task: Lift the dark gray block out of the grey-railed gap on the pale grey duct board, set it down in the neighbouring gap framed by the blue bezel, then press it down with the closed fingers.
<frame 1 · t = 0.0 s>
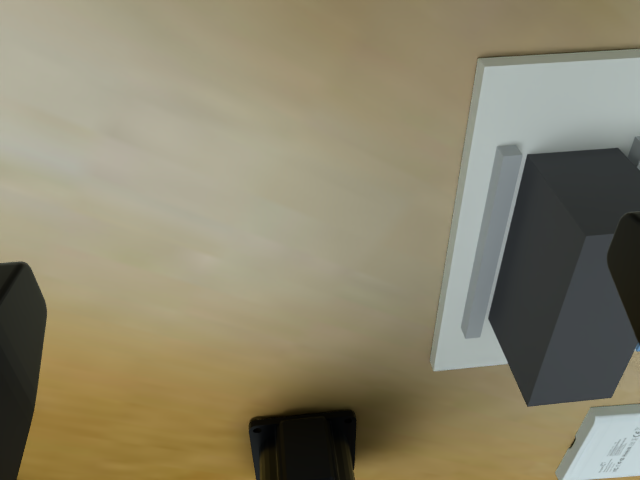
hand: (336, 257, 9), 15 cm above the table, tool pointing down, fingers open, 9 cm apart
dark gray block: (546, 242, 29), point 1 cm above the table, touching duct board
duct board: (627, 224, 30), on the table
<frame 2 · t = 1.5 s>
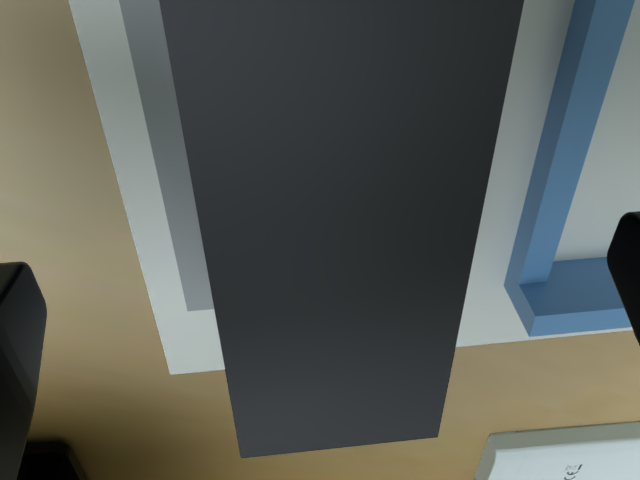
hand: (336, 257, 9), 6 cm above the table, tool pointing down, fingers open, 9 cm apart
dark gray block: (308, 96, 13), point 1 cm above the table, touching duct board
duct board: (495, 69, 14), on the table
external hard drive: (593, 458, 28), on the table
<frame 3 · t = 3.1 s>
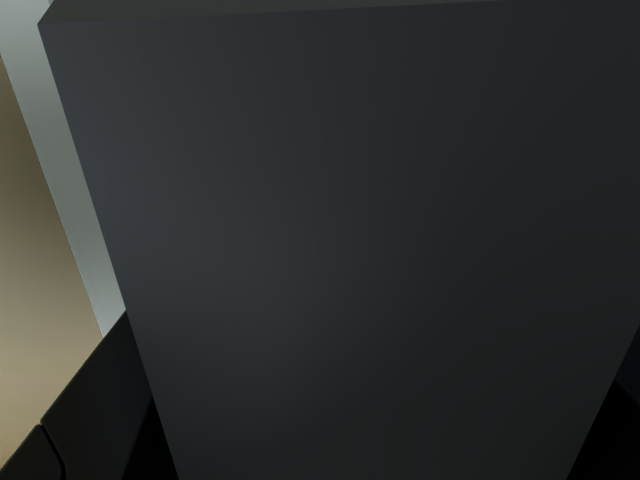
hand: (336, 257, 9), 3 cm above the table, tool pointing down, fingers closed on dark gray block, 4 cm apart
dark gray block: (323, 193, 10), point 1 cm above the table, touching duct board, gripper
duct board: (553, 151, 11), on the table
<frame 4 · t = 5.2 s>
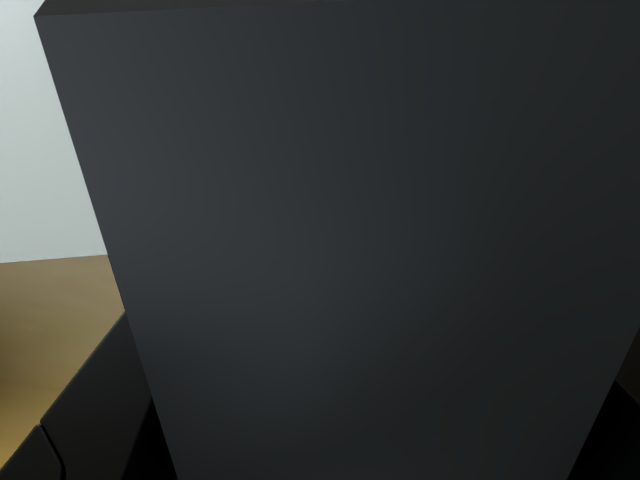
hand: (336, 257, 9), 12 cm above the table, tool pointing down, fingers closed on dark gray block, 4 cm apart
dark gray block: (323, 191, 10), point 11 cm above the table, touching gripper
duct board: (138, 5, 18), on the table
when the fingers open (4 cm above the table, at t = 7.4 s): dark gray block drops 1 cm, resting on duct board.
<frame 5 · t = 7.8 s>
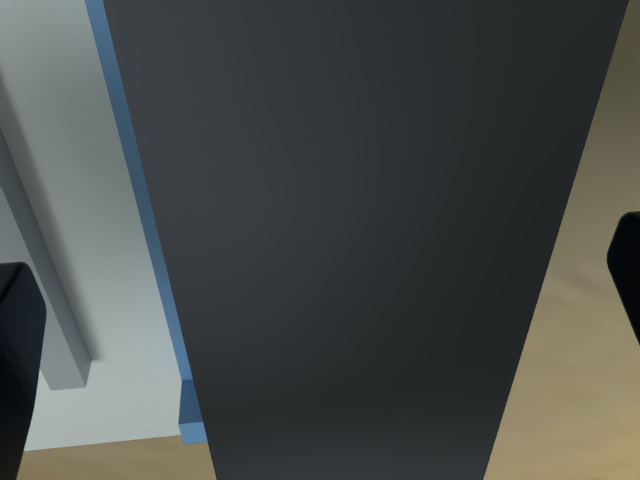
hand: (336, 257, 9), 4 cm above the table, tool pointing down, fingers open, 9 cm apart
dark gray block: (314, 147, 12), point 1 cm above the table, touching duct board
duct board: (85, 144, 12), on the table
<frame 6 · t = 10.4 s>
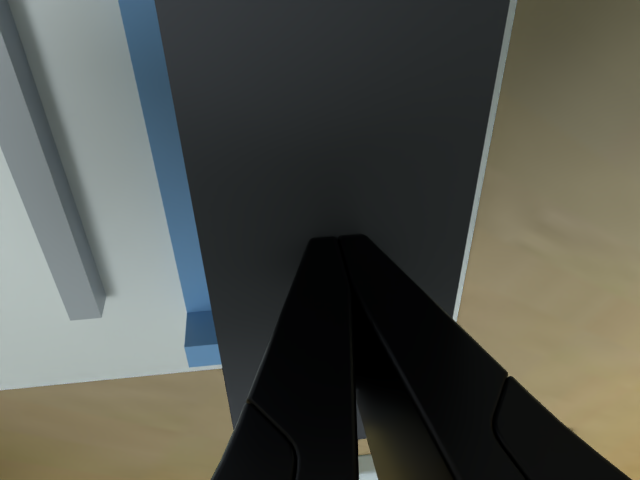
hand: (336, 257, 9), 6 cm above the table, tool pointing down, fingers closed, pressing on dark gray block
dark gray block: (303, 95, 13), point 1 cm above the table, touching duct board, gripper
duct board: (103, 93, 14), on the table
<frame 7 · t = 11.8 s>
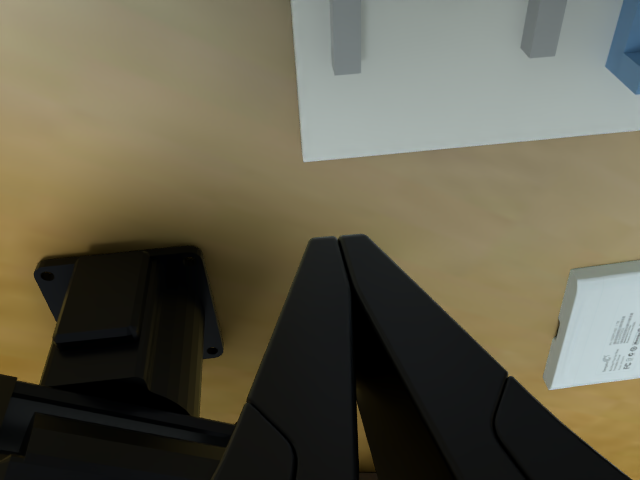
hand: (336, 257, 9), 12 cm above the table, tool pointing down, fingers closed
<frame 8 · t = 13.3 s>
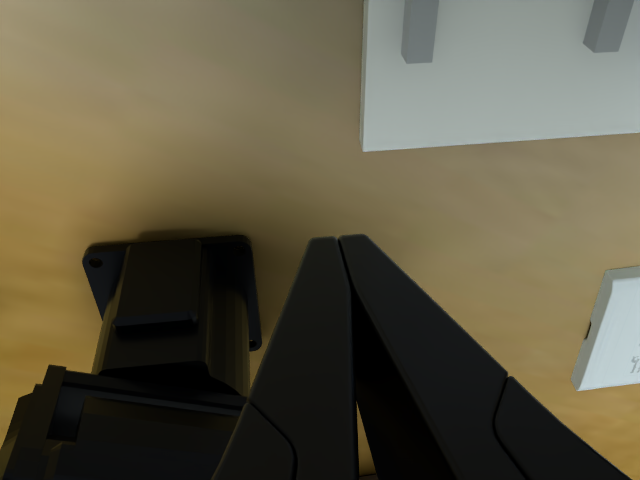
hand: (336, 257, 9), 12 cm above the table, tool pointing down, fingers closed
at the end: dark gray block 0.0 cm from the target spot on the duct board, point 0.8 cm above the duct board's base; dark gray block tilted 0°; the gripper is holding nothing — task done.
